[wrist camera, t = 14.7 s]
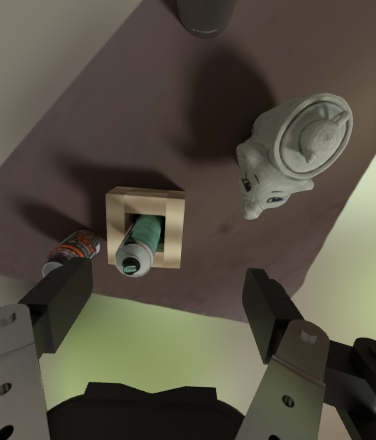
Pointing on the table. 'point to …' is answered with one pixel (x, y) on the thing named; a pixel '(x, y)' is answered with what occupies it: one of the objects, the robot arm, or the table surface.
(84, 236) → the supplement bottle
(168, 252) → the tube block
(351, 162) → the table surface
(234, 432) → the robot arm
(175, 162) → the table surface
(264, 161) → the grey animal cookie jar
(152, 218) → the spray can
